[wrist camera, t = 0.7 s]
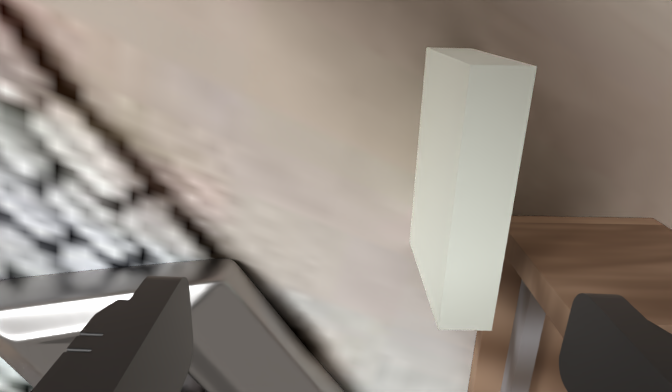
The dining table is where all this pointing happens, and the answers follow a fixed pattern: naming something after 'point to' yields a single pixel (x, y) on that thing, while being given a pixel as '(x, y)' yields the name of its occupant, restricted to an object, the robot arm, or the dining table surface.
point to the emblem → (207, 323)
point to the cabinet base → (566, 292)
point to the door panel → (467, 179)
